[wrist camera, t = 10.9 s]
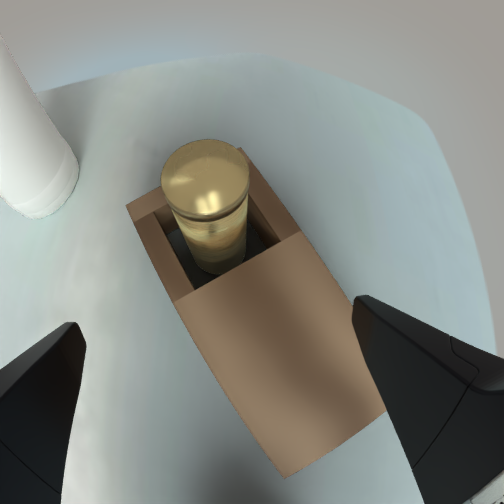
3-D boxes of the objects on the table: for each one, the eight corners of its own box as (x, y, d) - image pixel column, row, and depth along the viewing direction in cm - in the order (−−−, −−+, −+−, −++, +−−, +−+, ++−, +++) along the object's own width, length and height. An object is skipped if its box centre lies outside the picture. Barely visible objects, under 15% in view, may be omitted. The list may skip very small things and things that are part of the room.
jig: (276, 459, 18) (284, 479, 14) (141, 228, 23) (125, 205, 20) (380, 389, 20) (406, 393, 16) (240, 176, 25) (240, 147, 21)
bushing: (216, 286, 22) (198, 232, 13) (180, 247, 23) (143, 174, 14) (258, 249, 23) (268, 174, 14) (220, 213, 24) (210, 126, 15)
